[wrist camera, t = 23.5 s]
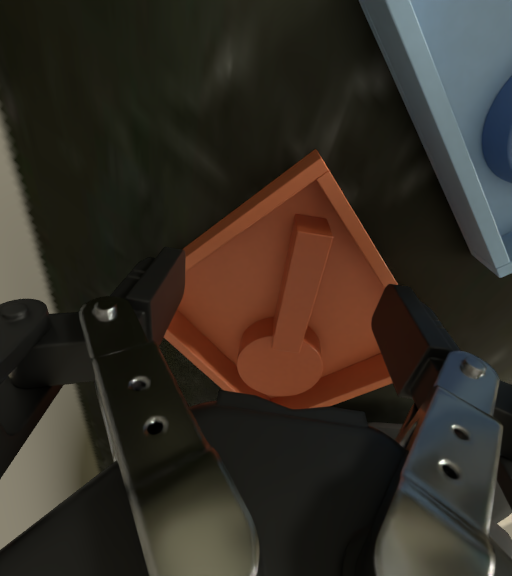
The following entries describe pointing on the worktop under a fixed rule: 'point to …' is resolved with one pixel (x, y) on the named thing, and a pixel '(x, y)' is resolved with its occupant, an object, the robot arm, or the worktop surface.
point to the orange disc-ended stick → (290, 319)
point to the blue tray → (454, 103)
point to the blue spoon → (499, 134)
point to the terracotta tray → (266, 284)
